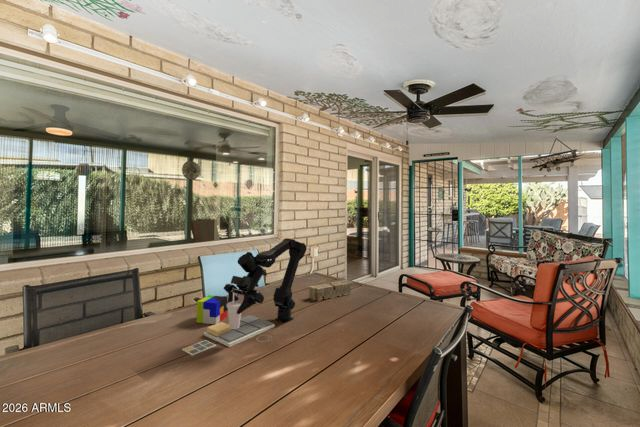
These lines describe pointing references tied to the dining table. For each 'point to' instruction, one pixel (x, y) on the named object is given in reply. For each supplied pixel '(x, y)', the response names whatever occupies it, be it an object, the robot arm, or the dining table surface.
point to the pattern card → (198, 347)
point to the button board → (243, 331)
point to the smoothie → (234, 313)
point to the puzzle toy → (211, 309)
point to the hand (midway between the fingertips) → (232, 312)
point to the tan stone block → (330, 290)
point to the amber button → (218, 329)
